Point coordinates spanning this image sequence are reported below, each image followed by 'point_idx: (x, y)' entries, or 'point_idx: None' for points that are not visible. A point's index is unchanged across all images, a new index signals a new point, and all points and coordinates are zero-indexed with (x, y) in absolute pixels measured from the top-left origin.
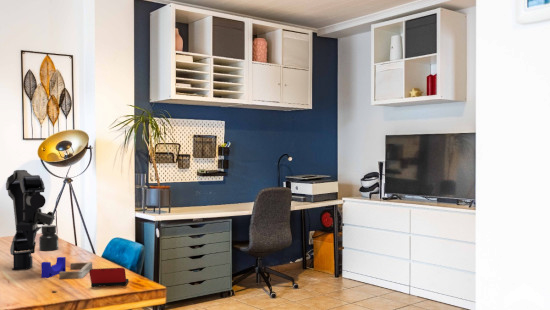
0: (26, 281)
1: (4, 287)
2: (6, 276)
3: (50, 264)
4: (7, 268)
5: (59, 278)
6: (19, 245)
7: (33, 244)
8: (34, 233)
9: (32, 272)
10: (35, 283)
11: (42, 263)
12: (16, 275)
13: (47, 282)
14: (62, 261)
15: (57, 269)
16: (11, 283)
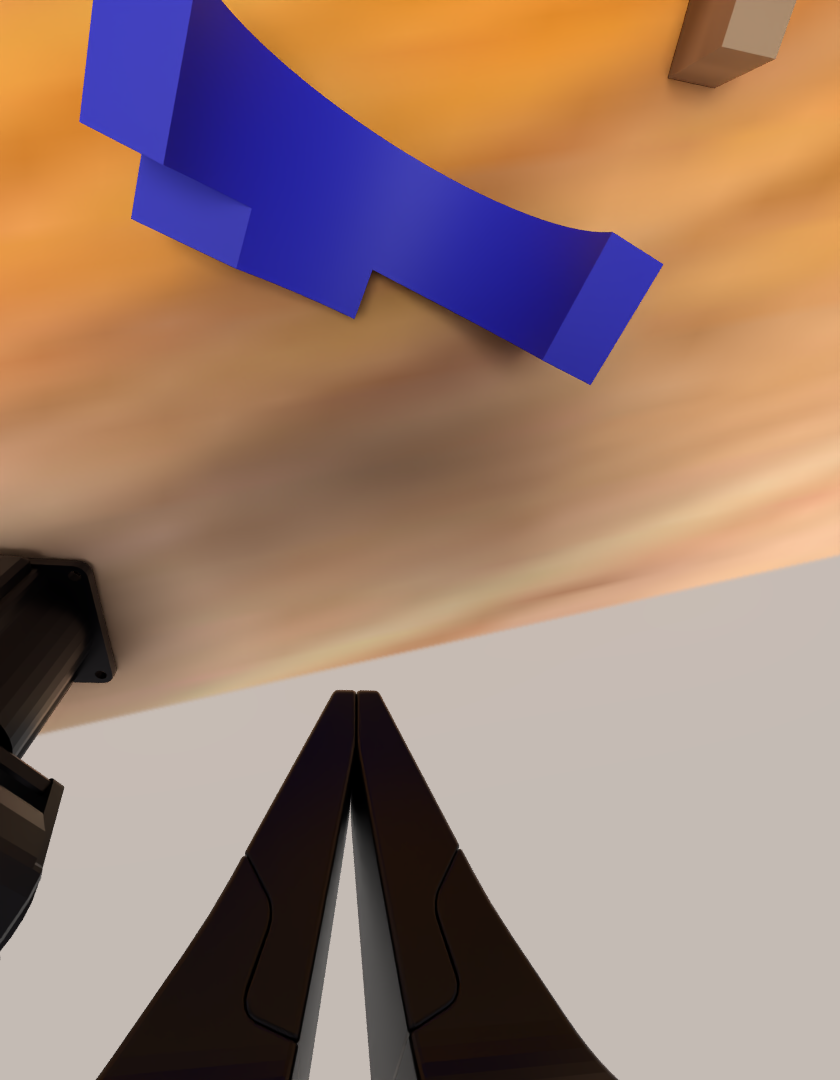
0: (647, 459)
1: (777, 568)
2: (377, 647)
3: (597, 236)
4: None
5: (719, 84)
6: (3, 865)
7: (336, 699)
8: (478, 1022)
9: (236, 490)
10: (783, 359)
11: (593, 366)
12: (354, 591)
13: (814, 233)
14: (229, 32)
15: (344, 161)
16: (663, 555)
